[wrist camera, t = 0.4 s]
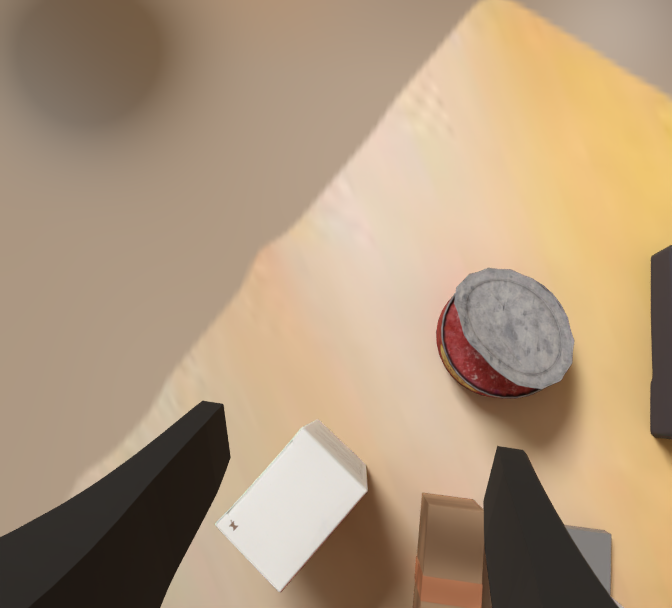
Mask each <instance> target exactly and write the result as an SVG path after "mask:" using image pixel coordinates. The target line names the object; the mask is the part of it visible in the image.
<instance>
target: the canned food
mask: <svg viewBox="0 0 672 608" xmlns="http://www.w3.org/2000/svg"><path fill="white" fill-rule="evenodd" d="M436 338H437V347H438V351H439V355H440V357H441V360H442V362H443V364H444V366H445V367H446V369H447V370H448V372H449V373H450V375H451V376H452V377H453V378H454V379H455V380H456V381H457V382H459V383H460V384H461V385H463V386H464V387H466V388H467V389H469V390H470V391H473V392H475V393H478V394H480V395H484V396H489V397H498V398H520V397H525V396H529V395H532V394H534V393H536V392H539V391H541V390H542V389H544V388H546V387H548V386H550V385H552V384H555V383H557V382H559V381H561V380H562V378H563V376H564V375H565V373H566V371H567V370H568V368H569V367H570V366H571V364H572V355H573V346H574V338H573V335H572V332H571V329H570V325H569V321H568V317H567V315H566V313H565V311H564V309H563V307H562V305H561V304H560V302H559V301H558V300H557V298H556V297H555V296H554V295H553V293H551V292H550V291H549V290H548V289H547V288H546V287H545V286H544V285H542V284H540V283H539V282H537V281H535V280H534V279H533V278H530V277H527V276H524V275H522V274H520V273H517V272H515V271H513V270H511V269H493V268H487V269H484V270H482V271H479V272H475V273H472V274H469V275H468V276H467V277H466V278H465V279H464V280H463V281H462V282H461V283H460V284H459V285H458V286H457V288H456V293H455V294H454V295H453V297H452V298H451V299H450V300H449V301H448V302H447V304H446V305H445V307H444V308H443V310H442V312H441V315H440V317H439V320H438V325H437V331H436Z"/></svg>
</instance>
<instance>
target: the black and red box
mask: <svg viewBox="0 0 672 608" xmlns="http://www.w3.org/2000/svg"><path fill="white" fill-rule="evenodd" d="M651 333H652V368H653V378H652V381H651V396H650V430H651V434H652V435H653V436H654V437H657V438H664V439H672V245H671V246H669V247H667V248H665V249H663V250H661V251H660V252H658V253H656V254H654V255H653V256H652V257H651Z"/></svg>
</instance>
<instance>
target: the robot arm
mask: <svg viewBox="0 0 672 608" xmlns="http://www.w3.org/2000/svg"><path fill="white" fill-rule="evenodd" d="M230 458H231V457H230V449H229V442H228V435H227V427H226V420H225V413H224V405H223V404H220V403H214V402H207V401H202V402H200V403H199V404H198V405H196V406H195V407H194V408H193V409H191V410H190V411H189V412H188V413H187V414H185V415H184V416H183V417H182V418H180V419H179V420H178V421H177V422H176V423H174V424H173V425H172V426H171V427H169V428H168V429H167V430H166V431H165V432H163V433H162V434H161V435H160V436H158V437H157V438H156V439H155V440H153V441H152V442H151V443H149V444H148V445H147V446H146V447H144V448H143V449H142V450H141V451H139V452H138V453H137V454H135V455H134V456H133V457H131V458H130V459H129V460H127V461H126V462H125V463H123V464H122V465H120V466H119V467H118V468H116V469H115V470H113V471H112V472H111V473H109V474H108V475H107V476H105V477H104V478H102V479H101V480H99V481H98V482H96V483H95V484H93V485H92V486H90V487H89V488H87V489H86V490H84V491H82V492H81V493H79V494H78V495H76V496H74V497H73V498H71V499H70V500H68V501H66V502H65V503H63V504H61V505H60V506H58V507H56V508H54V509H53V510H51V511H49V512H47V513H45V514H43V515H42V516H40V517H38V518H36V519H34V520H33V521H31V522H29V523H27V524H25V525H24V526H21V527H20V528H18V529H16V530H14V531H12V532H10V533H8V534H6V535H4V536H2V537H0V608H160V607H161V604H162V602H163V599H164V597H165V595H166V592H167V590H168V587H169V585H170V583H171V581H172V579H173V577H174V575H175V573H176V571H177V569H178V567H179V565H180V563H181V561H182V559H183V557H184V556H185V554H186V552H187V550H188V548H189V546H190V544H191V542H192V540H193V538H194V537H195V535H196V533H197V531H198V529H199V527H200V525H201V523H202V521H203V519H204V518H205V516H206V514H207V512H208V510H209V508H210V506H211V504H212V502H213V500H214V498H215V496H216V494H217V492H218V490H219V487H220V484H221V482H222V479H223V477H224V474H225V471H226V469H227V466H228V463H229V460H230ZM483 502H484V545H485V554H486V562H487V570H488V578H489V585H490V593H491V601H492V608H619V607H618V606H617V604H616V603H615V602H614V600H613V599H612V597H611V596H610V595H609V593H608V592H607V590H606V589H605V588H604V586H603V585H602V583H601V582H600V580H599V579H598V578H597V576H596V575H595V573H594V572H593V570H592V569H591V567H590V566H589V564H588V563H587V561H586V560H585V558H584V557H583V555H582V553H581V552H580V550H579V549H578V547H577V546H576V544H575V542H574V541H573V539H572V538H571V536H570V534H569V532H568V531H567V529H566V527H565V526H564V524H563V522H562V521H561V519H560V517H559V516H558V514H557V512H556V510H555V509H554V507H553V505H552V503H551V501H550V500H549V498H548V496H547V494H546V492H545V490H544V488H543V487H542V485H541V483H540V481H539V479H538V477H537V475H536V473H535V471H534V469H533V467H532V465H531V462H530V460H529V458H528V456H527V454H526V453H525V452H524V451H523V450H519V449H513V448H506V447H500V446H497V450H496V453H495V457H494V461H493V465H492V469H491V473H490V477H489V481H488V485H487V489H486V493H485V497H484V501H483Z"/></svg>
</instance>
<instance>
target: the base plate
mask: <svg viewBox="0 0 672 608" xmlns="http://www.w3.org/2000/svg"><path fill="white" fill-rule="evenodd" d="M564 526H565V527H566V529H567V531H568V532H569V534H570V536H571V538H572V539H573V541H574V542H575V544H576V546H577V547H578V549H579V550H580V552H581V553H582V555H583V557H584V558H585V560H586V561H587V563H588V564H589V566H590V567H591V569H592V570H593V572H594V573H595V575H596V576H597V578H598V579H599V580H600V582H601V583H602V585H603V586H604V588H605V589H606V590H607V592H608V593H609V595H610V582H611V534H610V533H608V532H606V531H605V530H597V529H590V528H582V527H575V526H567V525H564ZM612 599H613V598H612ZM613 600H614V599H613ZM614 602H615V603H616V604H617V606H618V607H619V608H624V607H623V606H622V605H620V604H619V603H618V602H617V601H616V600H614Z"/></svg>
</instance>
